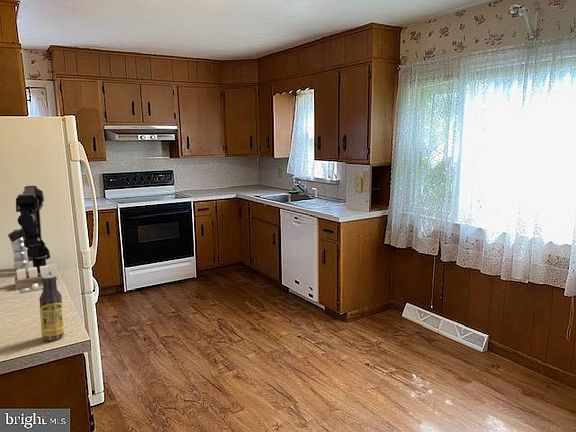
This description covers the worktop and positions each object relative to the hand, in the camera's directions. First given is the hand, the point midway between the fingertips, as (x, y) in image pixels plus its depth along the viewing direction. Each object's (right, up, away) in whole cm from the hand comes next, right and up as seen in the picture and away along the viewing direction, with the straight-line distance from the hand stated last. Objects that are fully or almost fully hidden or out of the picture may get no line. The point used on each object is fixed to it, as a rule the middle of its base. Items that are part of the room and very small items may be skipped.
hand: (33, 256), depth 193 cm
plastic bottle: (-19, -9, +21) cm, 30 cm away
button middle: (+2, -10, -4) cm, 10 cm away
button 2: (+6, -9, -1) cm, 11 cm away
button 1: (-2, -10, -6) cm, 12 cm away
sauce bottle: (+41, -20, -59) cm, 74 cm away
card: (+7, -13, -10) cm, 18 cm away
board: (+2, -12, -3) cm, 12 cm away
